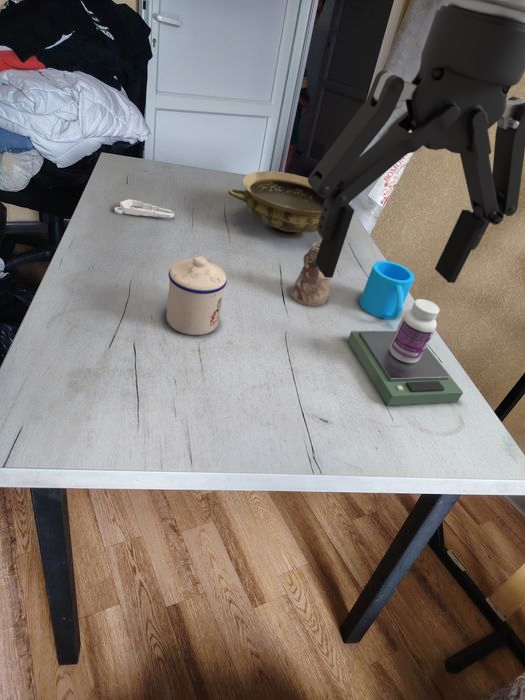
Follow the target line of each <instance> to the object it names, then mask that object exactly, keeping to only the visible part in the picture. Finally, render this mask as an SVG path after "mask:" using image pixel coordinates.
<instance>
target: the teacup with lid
mask: <svg viewBox="0 0 525 700" xmlns="http://www.w3.org/2000/svg"><path fill="white" fill-rule="evenodd" d="M168 279H169V280H168V281H169V282H168V293H167V305H166V306H167V307H166V322H167V323H168V325H169V326H170V327H171V328H172V329H174V330H175V331H177V332H179V333H182V334H185V335H190V336H203V335H207V334H210V333H212V332H213V331H215V329H216V328H217V327H218V325H219V322H220V316H221V308H222V303H223V297H224V291H225V287H226V285H227V283H228V279H227V275H226V273H225V271H224V270H223V269H222V268H221V267H220V266H218V265H216V264H215V263H212V262H210V261H207V258H205V257H204V256H201V255H199V256H195V257H194V258H189V259H183V260H179V261H177V262H175V263H173V264H172V266H171V267H170V269H169V271H168Z"/></svg>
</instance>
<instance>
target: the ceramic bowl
mask: <svg viewBox="0 0 525 700" xmlns="http://www.w3.org/2000/svg"><path fill="white" fill-rule="evenodd" d="M241 184H242V186H243V187H244V189H245V190H244V189H243V190H242V189H237V188H236V189H235V188H229V189H228V190H227V193H228V194H229V196H231V197H233V198H234V199H237V200H239V201H241V202H244V203H245V205H246V208H247V209H248V211H249V212H250V213H251V214H252V215H253V216H254V217H255V218H257V219H258V220H259V221H261V222H262V223H264V224H265V225H268V227H269V229H270V230H271V231H272V232H273V233H276V234H278V235H280V236H285V237H299V236H301V234H302V233H305V234H306V233H314V232H318V230H317V226H318V222H319V219H320V215H321V212H322V208H323V205H324V201H325V198H321V197H319V195H318V194H317V193H316V192H315V191H314V190H313V188H312V187H311V186H310V185H309V183H308V177H307V176H306V177H305V176H301V175H298V174H294V173H288V172H281V171H271V170H269V171H266V170H265V171H255V172H250V173H248V174H246V175H245V176H244V178H243V179H242V183H241Z"/></svg>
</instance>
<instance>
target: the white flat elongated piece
mask: <svg viewBox="0 0 525 700" xmlns="http://www.w3.org/2000/svg"><path fill="white" fill-rule="evenodd" d="M114 212H115V213H116V214H119V215H120V214H121V215H122V214H126V215H132V216H145V217H150V216H151V217H161V218H162V217H163V218H169V219H170V218H173V217H175V212H174V211H172V210H171V209H168V208H167V209H166V208H163V207H159V206H156V205H152V204H150V203H146V202H145V203H144V202H142V201H141V200H135V199H125V200H123V201H119V206H115V207H114Z"/></svg>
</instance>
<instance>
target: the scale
mask: <svg viewBox="0 0 525 700" xmlns="http://www.w3.org/2000/svg"><path fill="white" fill-rule="evenodd" d="M396 331H397V330H350V333H349V335H348V338H347V343H348V344H349V346H350V347H351V349H352V350H353V353H354V354H355V356H356V357H357V359H358V361H359V363H361V366H362V367H363V369H364V370H365V372H366V373H367V375H368V377H369V378H370V380H371V381H372V383H373V385H374V387H375V388H376V390H377V391H378V393H379V395H380V396H381V398H382V400H383V401H384V403H385V404H386V406H387V407H390V406H391V407H392V406H410V405H411V406H412V405H427V404H428V405H429V404H430V405H431V404H448V403H458V402H459V400H460V399H461V397H462V395H463V394H464V391H463V390H462V389H461V388H460V386H459V385H458V384H457V383H456V381H455V380H454V379H453V378H452V376H451V375H450V374H449V372H448V371H447V370H446V369H445V368H444V365H442V364H441V362H440V361H439V360H438V359H437V357H436V356H435V355H434V354H433V352H432V351H431V350H430V349H429V347H428V345H427V346H426V348H427V349H428V350H429V352H430V353H431V354H432V355H433V357H434V358H435V359H436V360H437V362H438V363H439V364H440V365H441V367H442V368H443V369H444V371H445V372H446V373H447V374H448V376H449V379H447V380H419V381H391V382H390V381H389V380H388V378H387V377H386V375H385V374H384V372H383V371H382V369H381V368H380V366H379V365H378V363H377V362H376V360H375V358H374V357H373V355H372V354H371V352H370V351H369V349H368V348H367V346H366V345H365V343H364V342H363V340H362V338H361V337H360V335H359V332H396Z"/></svg>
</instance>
